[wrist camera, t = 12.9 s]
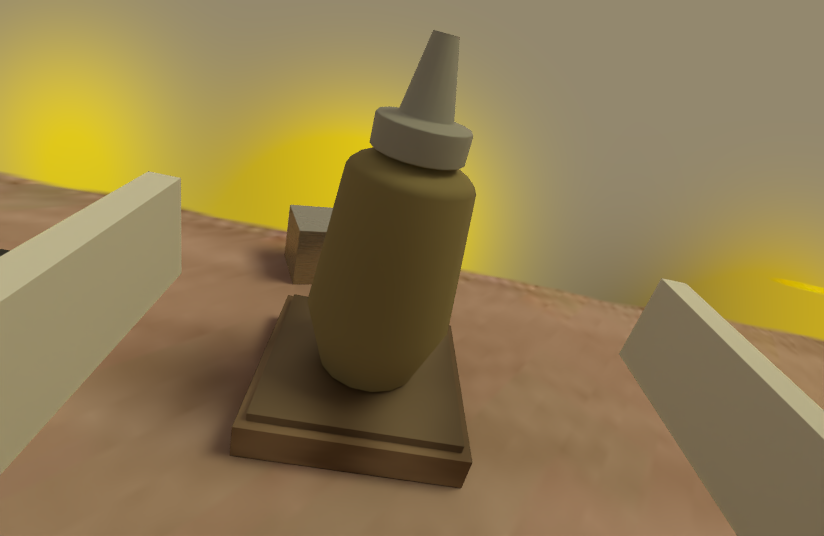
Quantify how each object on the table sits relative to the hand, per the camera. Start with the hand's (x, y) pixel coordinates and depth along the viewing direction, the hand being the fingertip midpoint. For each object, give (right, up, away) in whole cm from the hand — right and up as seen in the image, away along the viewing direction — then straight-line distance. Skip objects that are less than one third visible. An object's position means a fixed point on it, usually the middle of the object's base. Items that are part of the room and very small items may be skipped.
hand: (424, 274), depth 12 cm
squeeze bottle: (-3, -6, +15) cm, 16 cm away
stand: (-4, -7, +16) cm, 18 cm away
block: (-9, 0, +28) cm, 29 cm away
